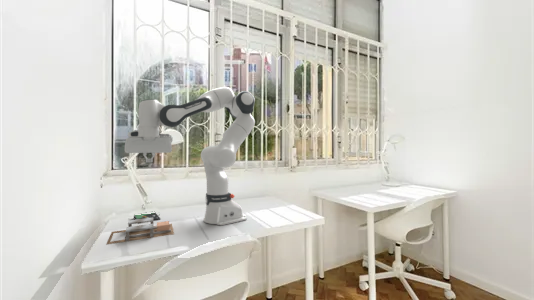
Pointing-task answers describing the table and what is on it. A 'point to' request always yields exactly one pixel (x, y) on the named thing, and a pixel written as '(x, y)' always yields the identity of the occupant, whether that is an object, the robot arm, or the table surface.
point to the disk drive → (147, 216)
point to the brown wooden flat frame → (140, 231)
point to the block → (163, 226)
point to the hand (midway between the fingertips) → (149, 162)
